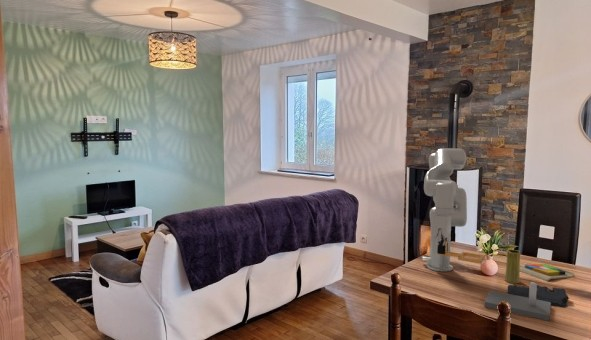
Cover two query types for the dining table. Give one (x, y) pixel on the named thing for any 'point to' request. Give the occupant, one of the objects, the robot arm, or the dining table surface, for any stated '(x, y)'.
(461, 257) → the link
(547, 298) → the dark slate chunk
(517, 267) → the vase
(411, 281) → the dining table surface
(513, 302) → the keeper board
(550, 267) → the wooden puzzle
